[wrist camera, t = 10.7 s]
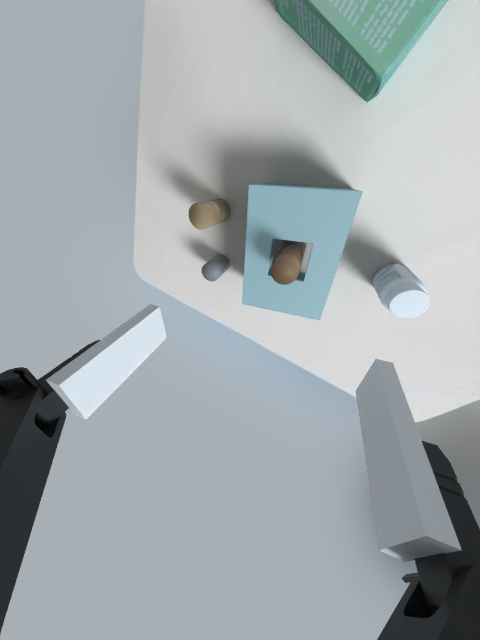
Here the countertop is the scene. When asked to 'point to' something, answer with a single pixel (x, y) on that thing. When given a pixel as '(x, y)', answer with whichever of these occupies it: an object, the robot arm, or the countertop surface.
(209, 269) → the charcoal pin
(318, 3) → the box
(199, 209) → the oak pin
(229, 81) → the countertop surface
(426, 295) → the pill bottle
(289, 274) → the walnut pin
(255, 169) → the countertop surface
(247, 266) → the bridge
